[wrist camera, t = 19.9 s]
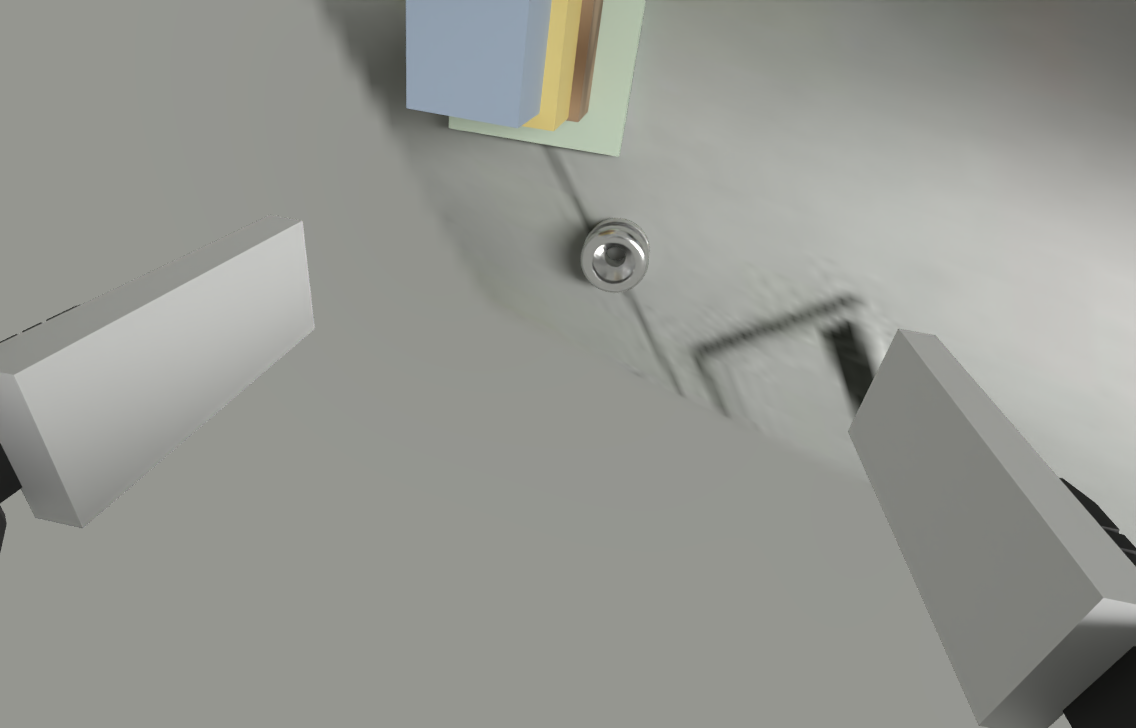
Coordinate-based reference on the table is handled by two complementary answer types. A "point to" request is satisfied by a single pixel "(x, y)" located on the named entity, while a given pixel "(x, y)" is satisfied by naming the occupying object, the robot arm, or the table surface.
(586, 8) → the walnut base
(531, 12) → the blue cube
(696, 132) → the table surface
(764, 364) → the table surface
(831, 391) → the table surface
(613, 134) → the build plate
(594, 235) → the metal grooved wheel
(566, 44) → the mustard cube
